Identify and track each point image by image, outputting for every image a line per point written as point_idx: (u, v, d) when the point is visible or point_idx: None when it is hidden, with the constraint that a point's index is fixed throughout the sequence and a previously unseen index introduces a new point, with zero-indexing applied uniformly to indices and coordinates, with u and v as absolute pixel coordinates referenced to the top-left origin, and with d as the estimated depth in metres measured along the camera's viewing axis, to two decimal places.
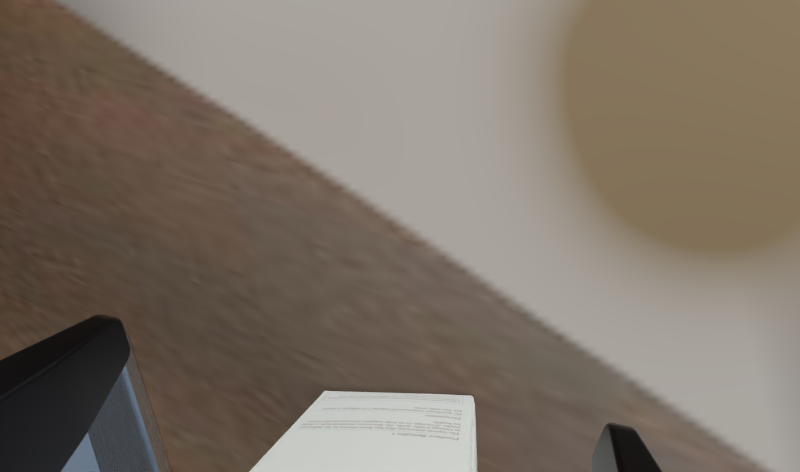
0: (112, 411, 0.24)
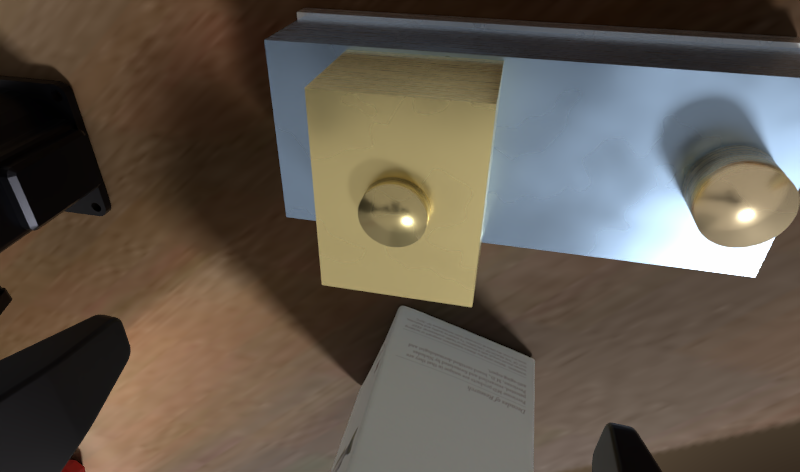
0: None
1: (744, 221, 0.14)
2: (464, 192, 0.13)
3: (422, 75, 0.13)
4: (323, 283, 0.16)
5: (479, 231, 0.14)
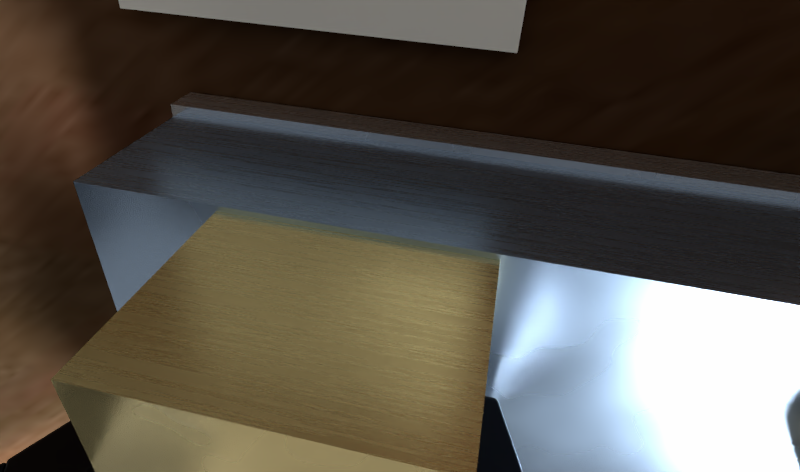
0: None
1: None
2: None
3: (331, 322, 0.07)
4: None
5: None
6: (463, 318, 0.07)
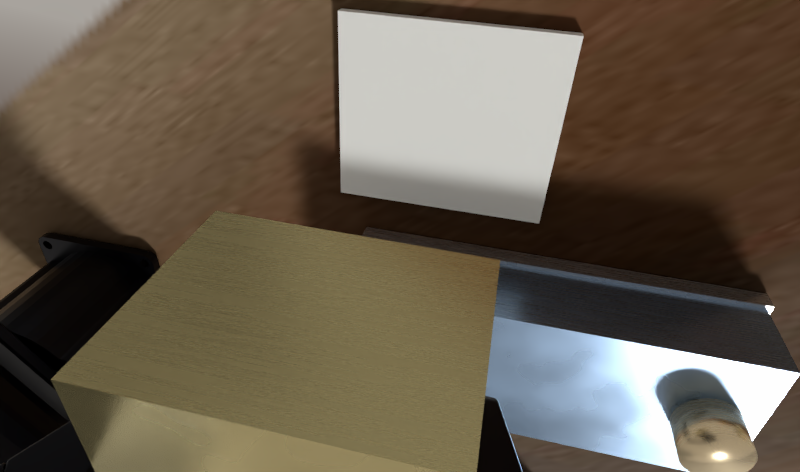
0: None
1: (715, 463, 0.18)
2: None
3: (332, 322, 0.07)
4: None
5: None
6: (463, 318, 0.07)
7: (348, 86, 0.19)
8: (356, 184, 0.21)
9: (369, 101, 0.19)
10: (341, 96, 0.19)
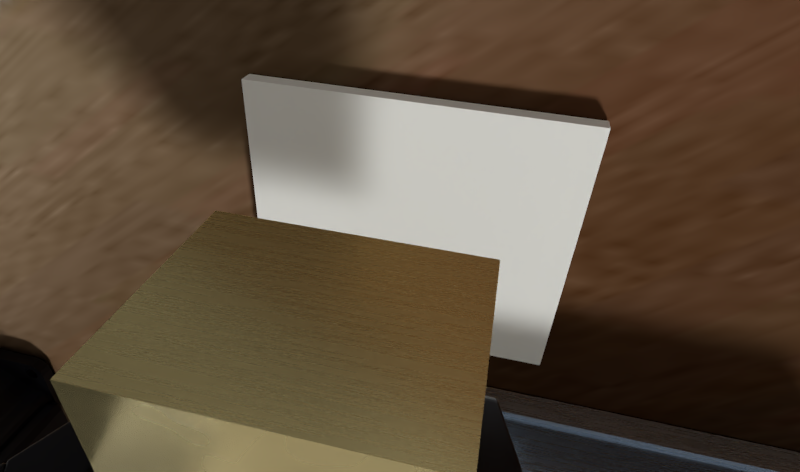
0: None
1: None
2: None
3: (331, 322, 0.07)
4: None
5: None
6: (463, 318, 0.07)
7: (266, 180, 0.13)
8: None
9: (297, 201, 0.13)
10: (257, 193, 0.14)
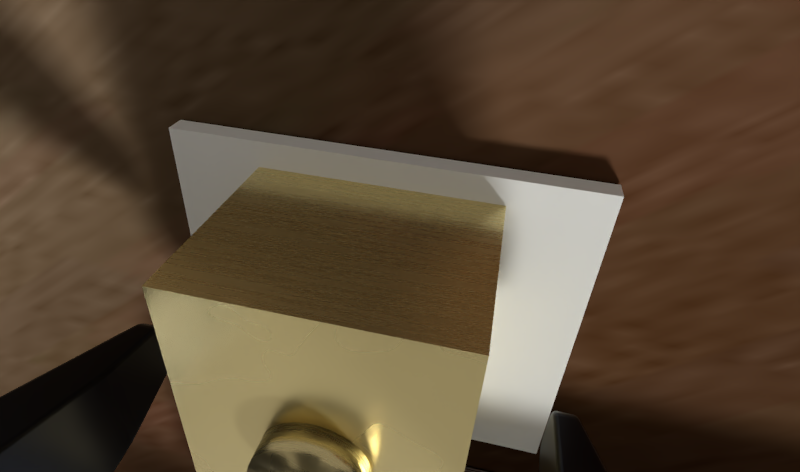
0: None
1: None
2: (429, 459, 0.08)
3: (365, 248, 0.08)
4: None
5: None
6: (476, 247, 0.08)
7: None
8: None
9: None
10: None
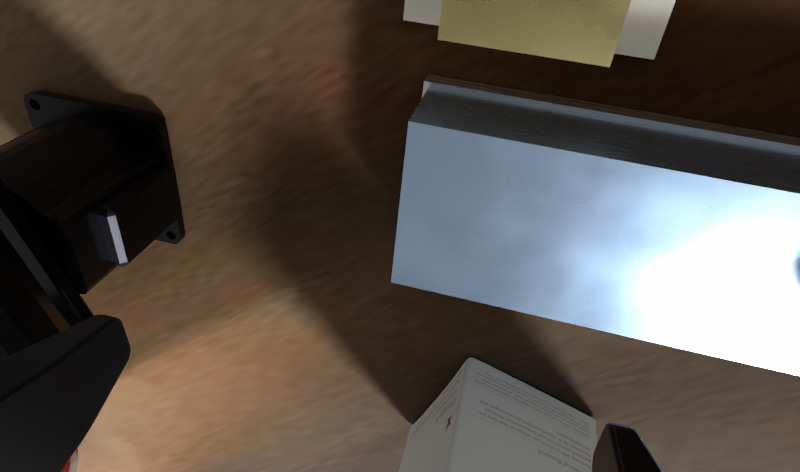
0: None
1: None
2: None
3: None
4: (439, 37, 0.14)
5: None
6: None
7: None
8: (424, 7, 0.17)
9: None
10: None
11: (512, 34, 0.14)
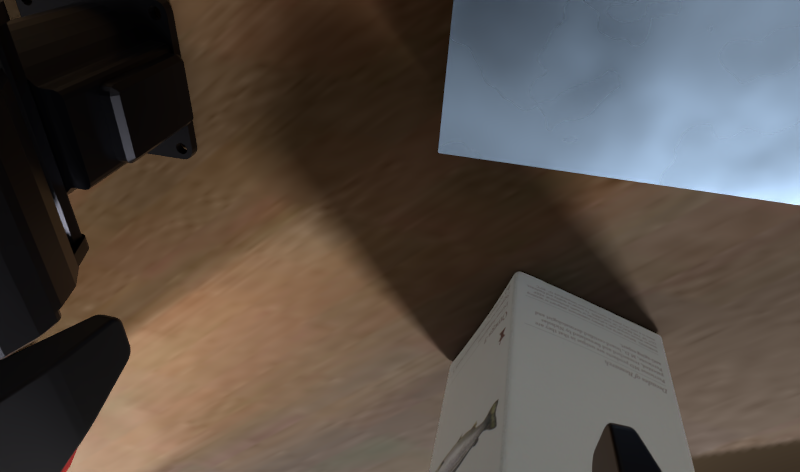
0: None
1: None
2: None
3: None
4: None
5: None
6: None
7: None
8: None
9: None
10: None
11: None
